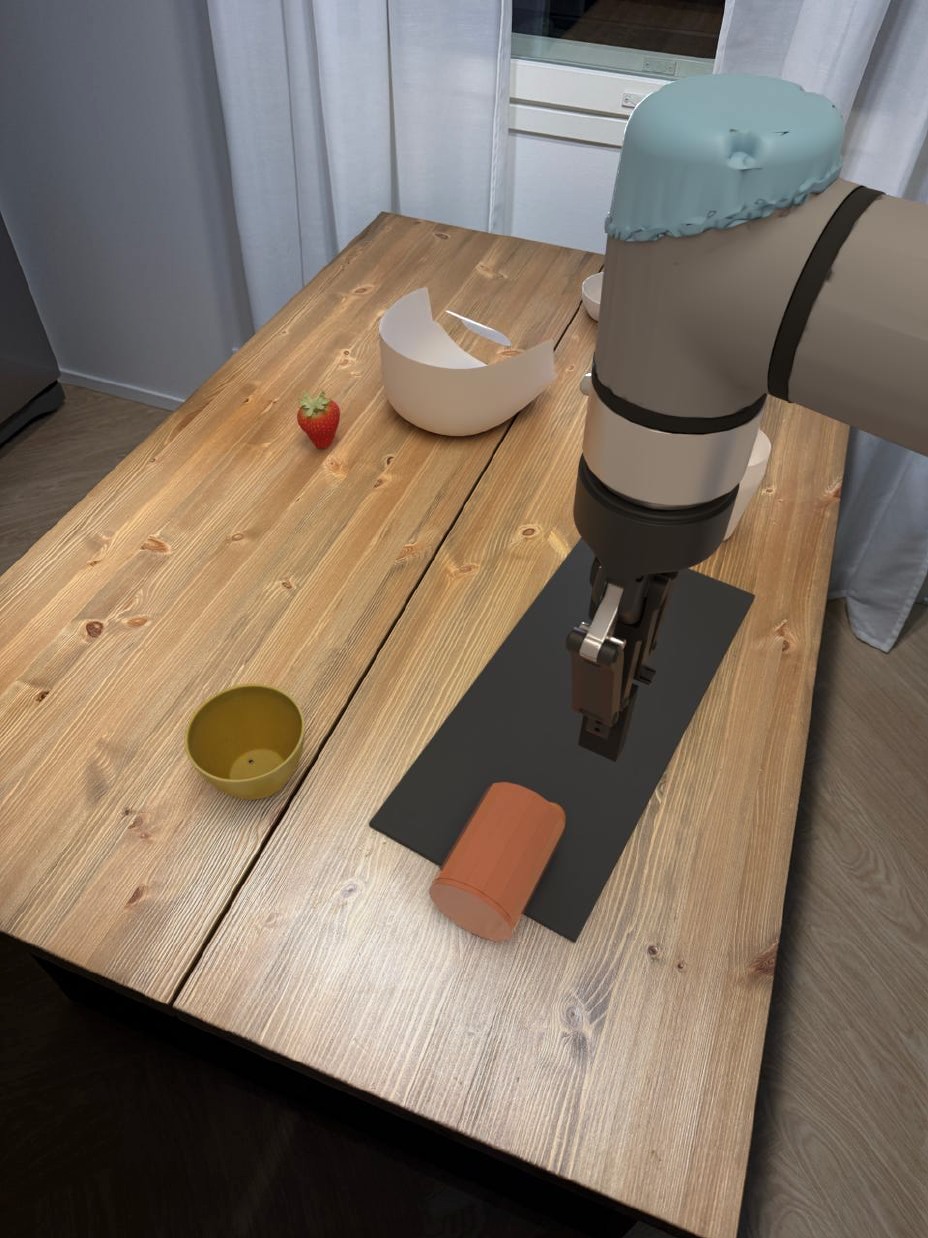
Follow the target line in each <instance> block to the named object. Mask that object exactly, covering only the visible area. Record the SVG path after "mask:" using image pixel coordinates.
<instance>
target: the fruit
mask: <svg viewBox="0 0 928 1238" xmlns="http://www.w3.org/2000/svg"><path fill="white" fill-rule="evenodd" d="M302 395H303V396H304V399H305V400H302V398H300V397H298V398H297V399H298V400H297V402H298V404H299V405H300V406H299V405H298V406H297V407H298V411H297V412H296V419H297V424H298V426H299V427H300V429H301V430H302V431H303V432H304V433H305V434H306V435H307V437H308V438H309V440H310V442H311V443H312V444H313V445H314V446H315V448H317V449H321V450H323V449H327V448H329V447H330V446H331V445H332V443H333V441H334V439H335V437H336V433H337V431H338V427H339V424H340V418H341V409H340V406H339V405H338V403H336V401H334V400H333V399H332V397H329V398H328V397H325V396H326V393H325V391H324V390H323V389H321V392H320V393H319V395H318V396H315V397H311V396H310V394H308V392H307V391H305V389H304V388H303V389H302Z"/></svg>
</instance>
